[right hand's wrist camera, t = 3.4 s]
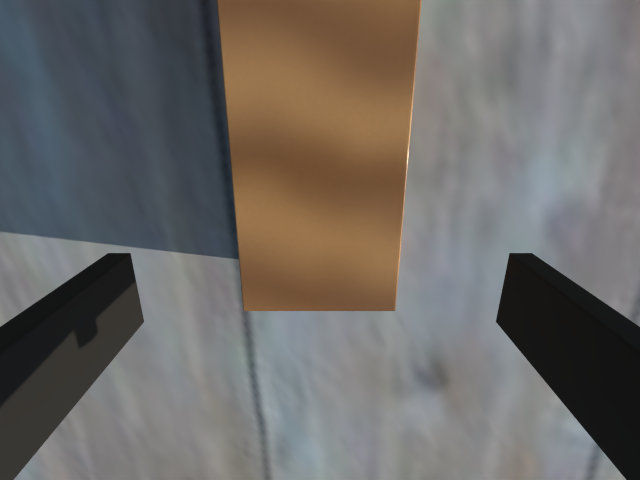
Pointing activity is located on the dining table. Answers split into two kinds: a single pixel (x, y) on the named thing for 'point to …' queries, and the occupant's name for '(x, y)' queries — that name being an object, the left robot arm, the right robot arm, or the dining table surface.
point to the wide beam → (319, 147)
